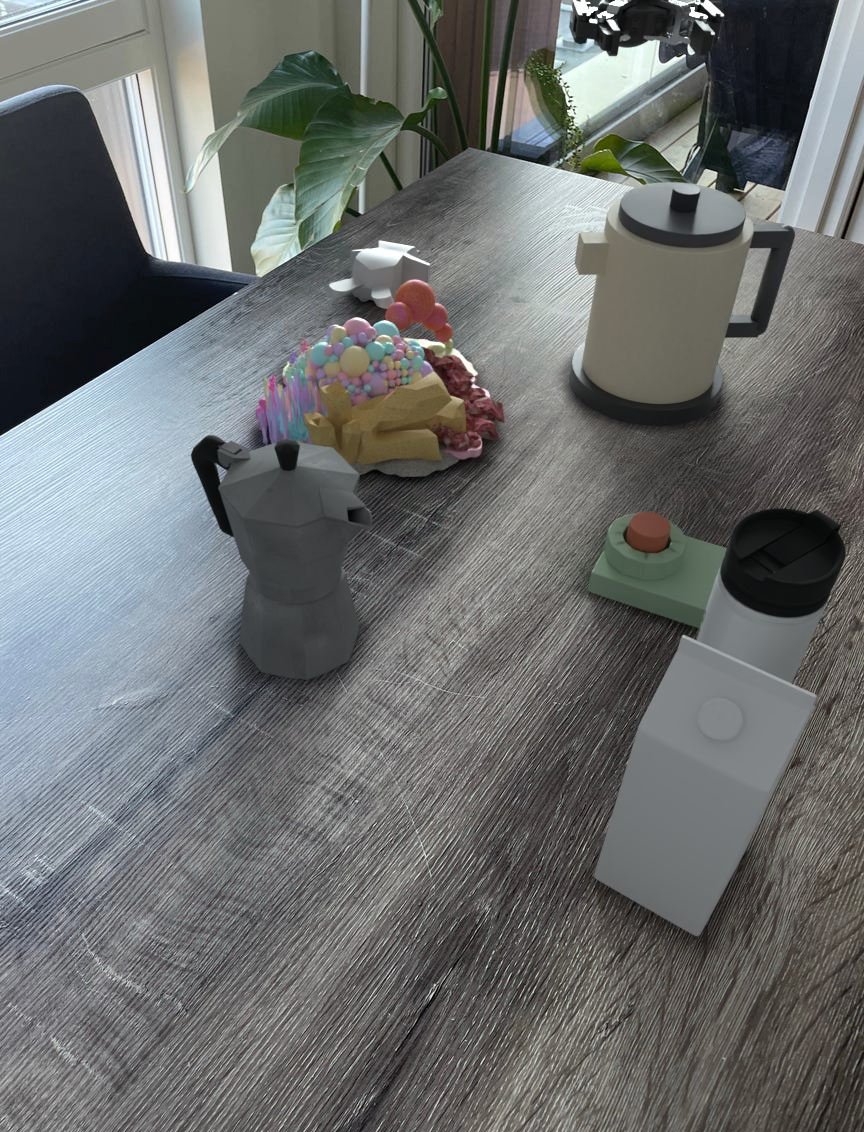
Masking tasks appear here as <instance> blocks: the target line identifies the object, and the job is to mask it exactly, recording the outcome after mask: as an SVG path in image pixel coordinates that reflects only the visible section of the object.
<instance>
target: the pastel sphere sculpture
mask: <svg viewBox="0 0 864 1132" xmlns="http://www.w3.org/2000/svg"><path fill="white" fill-rule="evenodd" d="M446 309H447V308H445V306H444V305H442V304H440V303H438V302H437V299H436V295H435V292H434V290H433V289H432V288H431V286H430V285H429V283H428V284H427V283H425V282H423V281H420V280H410V281H407V282H406V283H404V284H403V285H401V286H400V288H399V289H398V291H397V293H396V296H395V303H394V304H392V305H390V307H389V308H388V309H386V312H385V314H384V315H385V320H380V321H378V322H376V323H374V325H371V324H370V323H369V322H368V321H367V320H366V319H363V318H361V317H352V318H350V319H348V320H347V321H345V323H344V324H343V326H341V325H338V324H331V325H330V326H328V328H327V329H326V334H325V335H324V336H322V337H321V338H320V339H319V340H318V341H317V342H316V344H314V343H313V344H312V345H311V346H309V345H308V344H309V343H308V341H307V340H306V339H305V336H304V335H303V336H302V342H301V345H300V350H301V352H300V353H298V354H297V355H296V353H295V352H294V350H293V349H291V355H290V356H289V357H290V360H288V361H287V363H286V365H285V366H284V367H283V368H282V374H281V376H282V383H283V384H284V385H285V386H283V384H279V382H278V383H277V385H276V377H275V375H276V374H275V373H273V375H271V378H269V380H268V378H266V377H264V378H263V393H264V397H262V398H260V399H259V400H258V406H259V407H257V408H256V409H255V417H256V419H258V424H259V431H261V432H262V433H261V434H262V443H263V444H265V446H267V445H269V444H268V435H269V440H270V443H271V444H273V443H276V442H279V441H282V440H285V439H289V440H295V441H296V442H297V443H304V444H311V445H318V446H325V447H331V448H334V449H335V450H336V451H337V452H338V453H339V455H340V456H341V457H342V458H343V459H344V460H345V461H346V462H347V463H348V464H349V465H350V466H351V467H352V468H353V469H354V470H355V471H356V472H357V473H358V474H359V475H361V476H362V475H365V474H367V473H369V472H370V471H373V470H378V471H379V472H381V473H384V475H385V474H386V475H396V476H398V477H402V478H407V477H408V478H409V477H411V478H414V477H416V478H417V477H426V476H429V475H430V474H432V473H433V472H435V471H444V470H446V469H448V468H449V467H451V466H453V465H454V464H457V463H458V462H459V461H460V460H466V459H468V458H477V457H481V455H482V453H483V450H484V449H485V447H484V445H483V441H482V439H486V440H491V441H496V442H500V441H501V440H500V437H499V433H498V431H497V427H496V424H495V422H493V421H497V422H499V423H504V424H505V415H504V407H503V406H504V405H503V403H502V402H499V401H497V400H494V399H492V397H491V395H490V392H489V390H487V389H485V388H482V387H481V386H478V385H476V382H477V381H478V378H479V373H478V371H476V370H475V369H474V367H473V362H470V361H468V360H467V359H466V358H465V356H464V355H462V354H461V351H460V350H458V349H456V348H453V347H454V341H453V340H452V337H453V333H454V330H453V328H452V326H451V324H448V323H447V322H448V318H449V315H448V311H447V310H446ZM420 323H421V324H422V326H423V327H424V329H426V330H428V331H430V332H434V333H433V335H434V337H435V339H436V341H433V340H432V341H431V340H428V339H427V338H426V339H425V338H411V337H410V338H409V337H403V336H401V334H400V331H404V330H407V328H408V327H409V326H410V325H411V324H420ZM268 381H269V383H268ZM267 432H268V435H267Z"/></svg>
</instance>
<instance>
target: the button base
mask: <svg viewBox="0 0 864 1132" xmlns="http://www.w3.org/2000/svg"><path fill="white" fill-rule="evenodd" d="M635 514H636V513H627V514H625V515H623V516H621V517H618V518H616V519H614V520H613V521H612V522H611V524H610V525H609V528H608V529H607V531H606V536H605V539H604V544H603V545H604V546H603V550H602V553H600V556H599V557H598V559H597V561H596V563H595V565H594V566H593V569H592V571H591V573H590V576H589V582H588V586H587V592H589V593H592V594H594V595H598V596H600V597H604V598H607V599H610V600H613V601H616V602H619V603H621V604H624V605H628V606H631V607H634V608H636V609H640V610H643V611H645V612H649V613H652V614H654V615H657V616H661V617H664V618H667V619H670V620H673V621H675V622H679V623H682V624H684V625H688V626H691V627H693V628H696V629H699V628H700V625H701V622H702V619H703V616H704V613H705V610H706V607H707V604H708V601H709V598H710V595H711V592H712V589H713V586H714V583H715V580H716V577H717V575H718V570H719V567H720V565H721V563H722V561H723V559H724V557H725V552H726V549H727V547H724V546H721V545H718V544H714V543H711V542H708V541H704V540H701V539H698V538H695V537H691V536H688V535H685V534H684V532H683V530H682V528H680V527H679V526H677V525H676V524H675V523H673V522H672V521H671V520H669V519H667V520H668V521H669V523H670V525H671V530H670V534H669V538H668V541H667V545H666V547H665V548H664V550H662V551H661V552H659V553H644V552H640V551H637V550H634V549H633V548H632V547H630V546H629V545H628V543H627V541H626V535H627V531H628V527H629V523H630V519H631V518H632V517H633V516H634V515H635Z"/></svg>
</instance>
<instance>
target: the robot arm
mask: <svg viewBox="0 0 864 1132" xmlns="http://www.w3.org/2000/svg"><path fill="white" fill-rule="evenodd" d="M570 8H571V9H570V15H569V23H568V24H569V25H568V27H569V31H570V33H571V36H572V39H573V41H574V43H575V44H577V45H583V44H584V45H585V44H587V42H588V40H593V45H595V46H597V47H599V48H600V50H601V51H602V52H606V53H607V55H608V57H617V56H618V55H619V48H625V49H629V48H631V49H632V48H636V47H639V46H643V45H644V44H646V43H648V42H654V41H659V42H661V43H665V44H668V45H670V46H677V45H680V44H686V45H688V46H689V47H690V49H691V50H692V51H693V52H694V54H695V55H696V56H697V57H699V58H701V57H702V58H705V57H707V55H708V52H712V49H713V46H714V45H718V44H719V41H720V34H721V30H722V26H723V22H724V20H725V19H724V18H725V14H724V13H723V12H722V11H721V10H720V9H719V8H718V7H717V6H716V5H714V3H712V2H711V1H710V0H696V1H695V3H694V7H691V5H690V4H689V3H686V2H683V1H679V0H572V1H571V7H570ZM689 24H690V26H689ZM688 26H689V31H691V32H690V34H689V33H688ZM670 31H672V33H669V32H670Z"/></svg>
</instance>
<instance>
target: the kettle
mask: <svg viewBox="0 0 864 1132" xmlns="http://www.w3.org/2000/svg"><path fill="white" fill-rule="evenodd" d="M746 212H747V211H746V209H745V207H744V205H742V203H741V202H740V201H738V200H737V199H736V198H734V197H733V196H731V195H730V194H727V193H726V192H723V191H721V190H718V189H715V188H713V187H708V186H704V185H701V184H695V183H688V182H679V181H678V182H677V181H662V182H660V181H659V182H654V183H653V182H651V183H646V184H642V185H638V186H636V187H633V188H631V189H629V190H628V191H626V192H625V193H623V195H622V196H621V198H619V199H617V200H616V201H614V202H613V203H612V204H611V205H610V207H609V208H608V209H607V212H606V217H605V221H604V222H605V223H604V228H603V231H579V232H578V239H577V245H576V250H575V258H574V265H575V268H576V271H577V274H578V275H579V276H595V282H594V288H593V295H592V299H591V305H590V311H589V318H588V324H587V329H586V334H585V335H586V336H585V341H584V342H583V343H581V344H580V345H579V347H577V348H576V349H575V352H574V354H573V356H572V359H571V365H570V371H569V384H570V388H571V390H572V391H573V393H574V395H575V396H576V398H578V400H580V402H581V403H583V404H584V405H585V406H586V407H588V408H590V409H592V411H595V412H597V413H598V414H600V415H602V416H604V417H607V418H610V419H612V420H615V421H618V422H621V423H627V424H629V425H636V426H642V427H643V426H645V427H673V426H680V425H685V424H689V423H692V422H694V421H695V422H696V421H697V420H699V419H702V418H704V417H706V416H707V415H708V414H709V413H711V412H712V411H713V410H714V409H715V407H716V406H717V405H718V402H719V399H720V395H721V392H722V390H723V389H722V388H723V385H724V379H725V376H724V372H723V370H722V367H721V365H720V363H719V359H720V356H721V352H722V349H723V346H724V343H725V339H737V338H738V339H742V338H746V339H747V338H748V339H749V338H750V339H751V338H759V336H761V335H763V334H764V333H766V331H767V329H768V326H769V323H770V320H771V317H772V314H773V310H774V306H775V303H776V300H777V297H778V294H779V290H780V287H781V285H782V280H783V277H784V274H785V271H786V267H787V264H788V261H789V258H790V255H791V252H792V249H793V248H792V247H793V244H794V241H795V238H796V231H795V229H794V228H793V227H792V226H791V225H787V224H785V223H754V222H753V221H752V220H751V218H750V217H749V216H748V215H747V213H746ZM750 249H769V250H768V251H769V252H768V255H767V258H766V262H765V266H764V269H763V272H762V275H761V279H760V281H759V285H758V290H757V293H756V296H755V300H754V304H753V307H752V310H751V313H750V314H732V313H733V309H734V307H735V302H736V298H737V295H738V291H739V288H740V284H741V280H742V277H743V274H744V270H745V266H746V262H747V258H748V255H749V253H750V252H749V251H750Z"/></svg>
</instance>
